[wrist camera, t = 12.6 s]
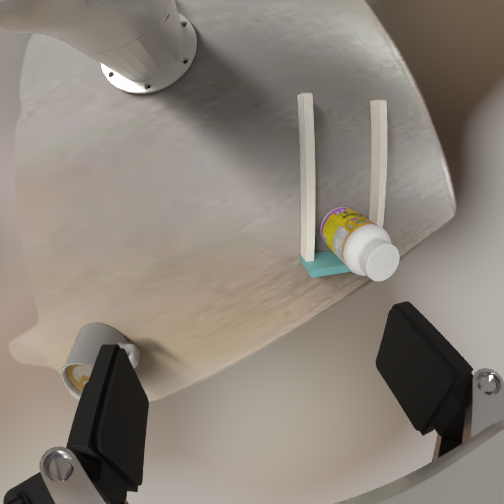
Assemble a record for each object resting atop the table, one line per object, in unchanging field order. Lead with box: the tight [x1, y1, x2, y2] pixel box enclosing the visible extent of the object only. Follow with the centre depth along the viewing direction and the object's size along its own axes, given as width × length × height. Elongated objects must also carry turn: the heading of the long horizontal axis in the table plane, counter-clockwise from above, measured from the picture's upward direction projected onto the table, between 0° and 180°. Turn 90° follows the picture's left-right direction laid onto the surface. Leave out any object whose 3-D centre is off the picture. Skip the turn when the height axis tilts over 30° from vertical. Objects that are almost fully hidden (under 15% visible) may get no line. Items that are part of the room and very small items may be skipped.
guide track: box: [297, 93, 387, 278], centre depth 36 cm, size 24×12×5 cm, turn 3°
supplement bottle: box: [320, 207, 400, 281], centre depth 36 cm, size 7×7×13 cm
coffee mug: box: [62, 323, 140, 397], centre depth 39 cm, size 13×10×10 cm
